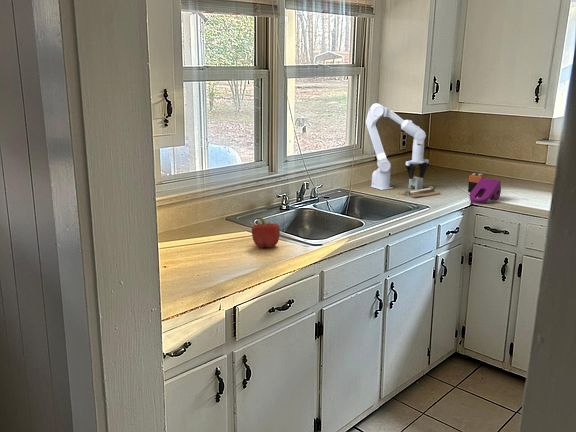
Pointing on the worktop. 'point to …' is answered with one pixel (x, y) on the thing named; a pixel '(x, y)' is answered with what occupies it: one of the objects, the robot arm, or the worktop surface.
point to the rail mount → (420, 192)
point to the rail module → (416, 183)
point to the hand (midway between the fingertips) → (416, 177)
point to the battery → (474, 180)
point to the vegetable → (265, 234)
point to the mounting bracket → (485, 191)
